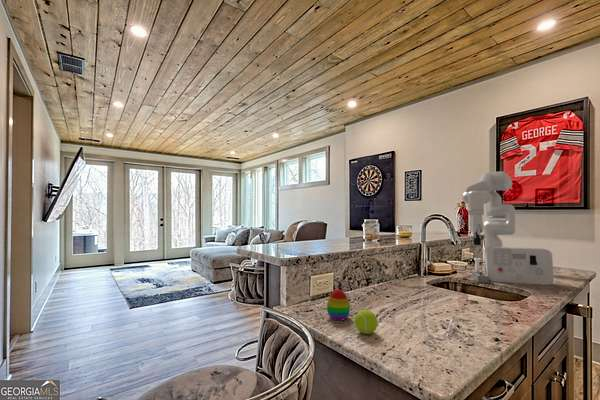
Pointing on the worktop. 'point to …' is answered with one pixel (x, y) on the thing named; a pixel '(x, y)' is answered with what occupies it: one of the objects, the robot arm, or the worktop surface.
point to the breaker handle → (477, 265)
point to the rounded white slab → (519, 265)
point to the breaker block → (480, 276)
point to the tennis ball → (366, 321)
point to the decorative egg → (338, 305)
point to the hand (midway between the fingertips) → (477, 244)
